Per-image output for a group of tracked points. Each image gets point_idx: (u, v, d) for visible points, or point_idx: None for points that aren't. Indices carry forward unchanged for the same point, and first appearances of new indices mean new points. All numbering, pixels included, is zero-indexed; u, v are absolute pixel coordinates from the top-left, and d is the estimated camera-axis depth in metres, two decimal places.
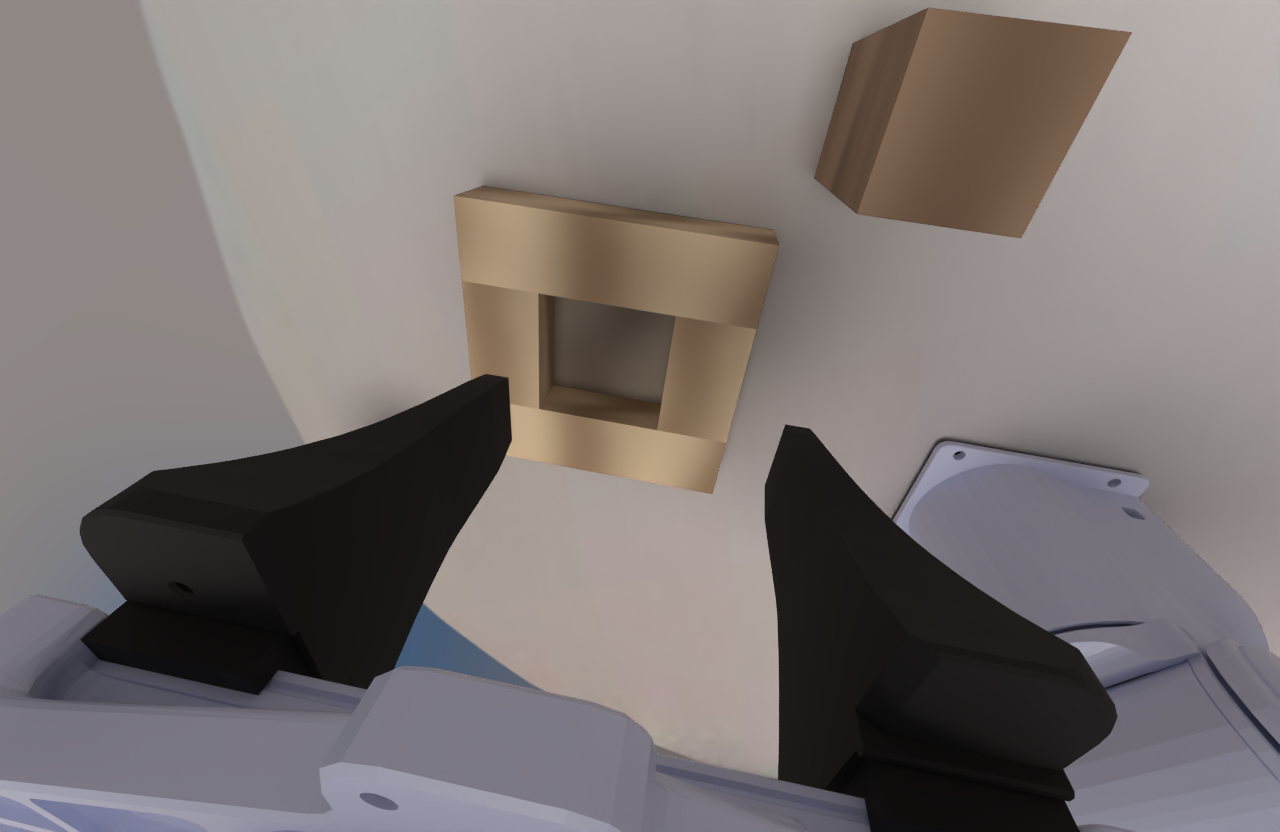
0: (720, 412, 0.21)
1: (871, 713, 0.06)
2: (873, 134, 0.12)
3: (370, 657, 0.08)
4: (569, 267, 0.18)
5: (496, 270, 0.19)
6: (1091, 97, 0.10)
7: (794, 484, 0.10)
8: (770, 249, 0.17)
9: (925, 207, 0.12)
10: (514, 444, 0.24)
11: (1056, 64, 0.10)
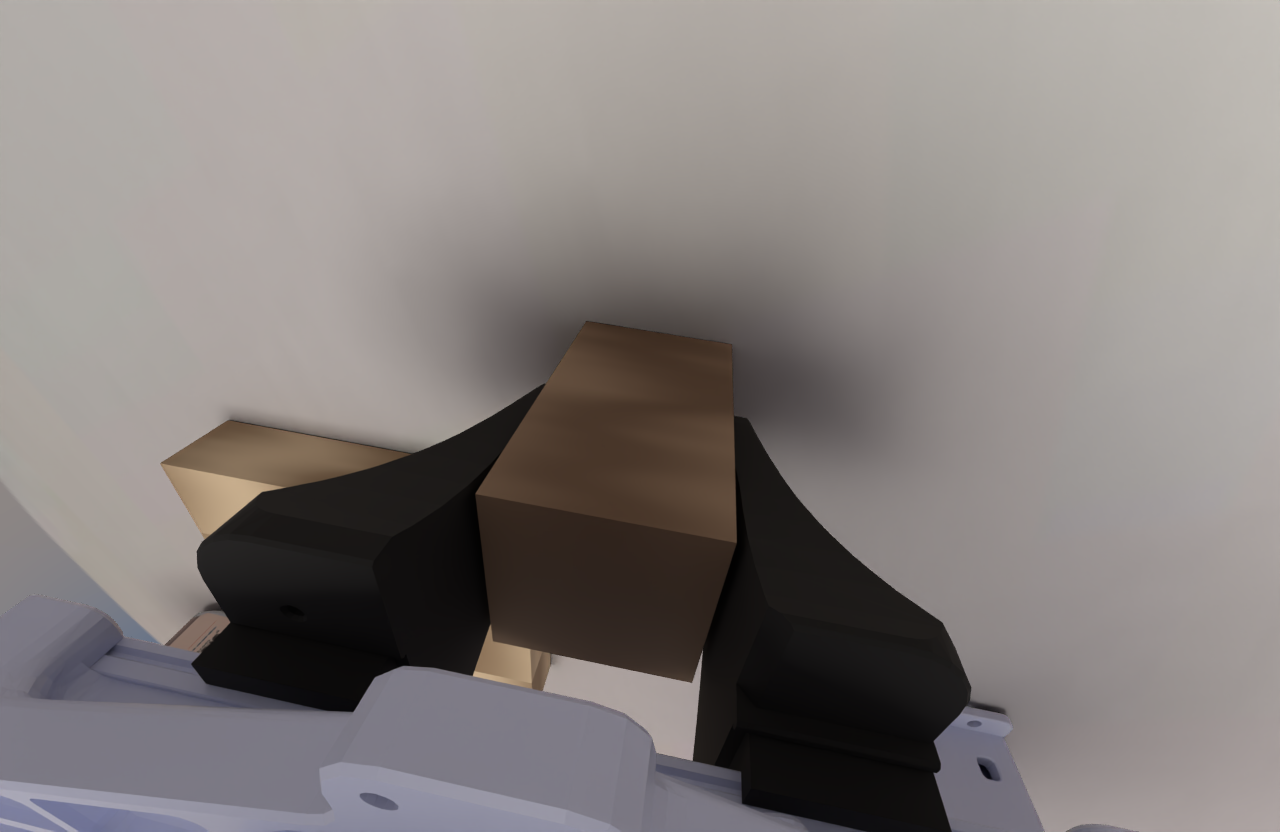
0: (516, 660, 0.18)
1: (748, 687, 0.06)
2: None
3: None
4: None
5: None
6: (715, 588, 0.08)
7: None
8: None
9: (568, 646, 0.09)
10: None
11: (658, 557, 0.07)
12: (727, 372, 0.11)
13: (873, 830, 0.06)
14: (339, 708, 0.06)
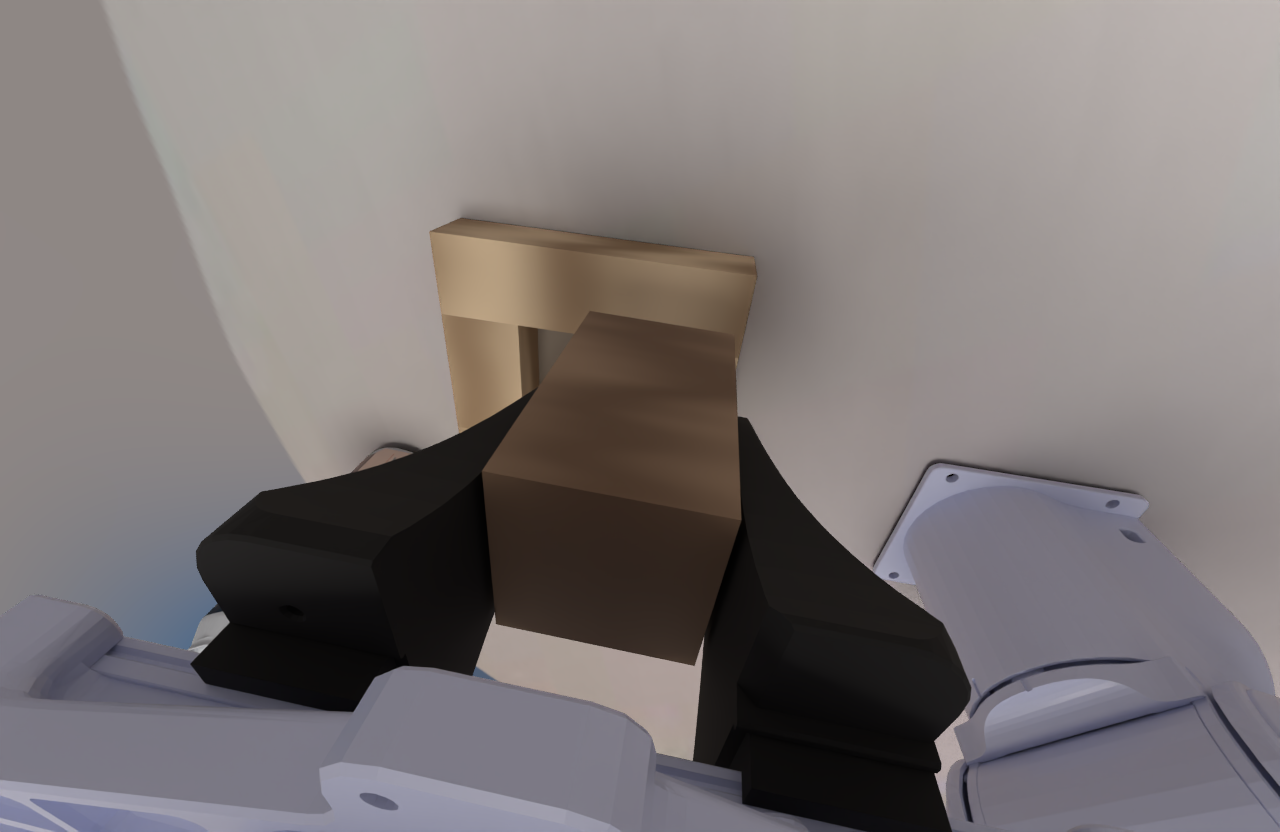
0: None
1: (748, 688, 0.06)
2: None
3: None
4: (547, 299, 0.18)
5: (475, 303, 0.19)
6: (719, 566, 0.08)
7: None
8: (748, 279, 0.17)
9: (571, 628, 0.09)
10: None
11: (662, 535, 0.08)
12: (730, 360, 0.12)
13: (873, 831, 0.06)
14: (338, 708, 0.06)
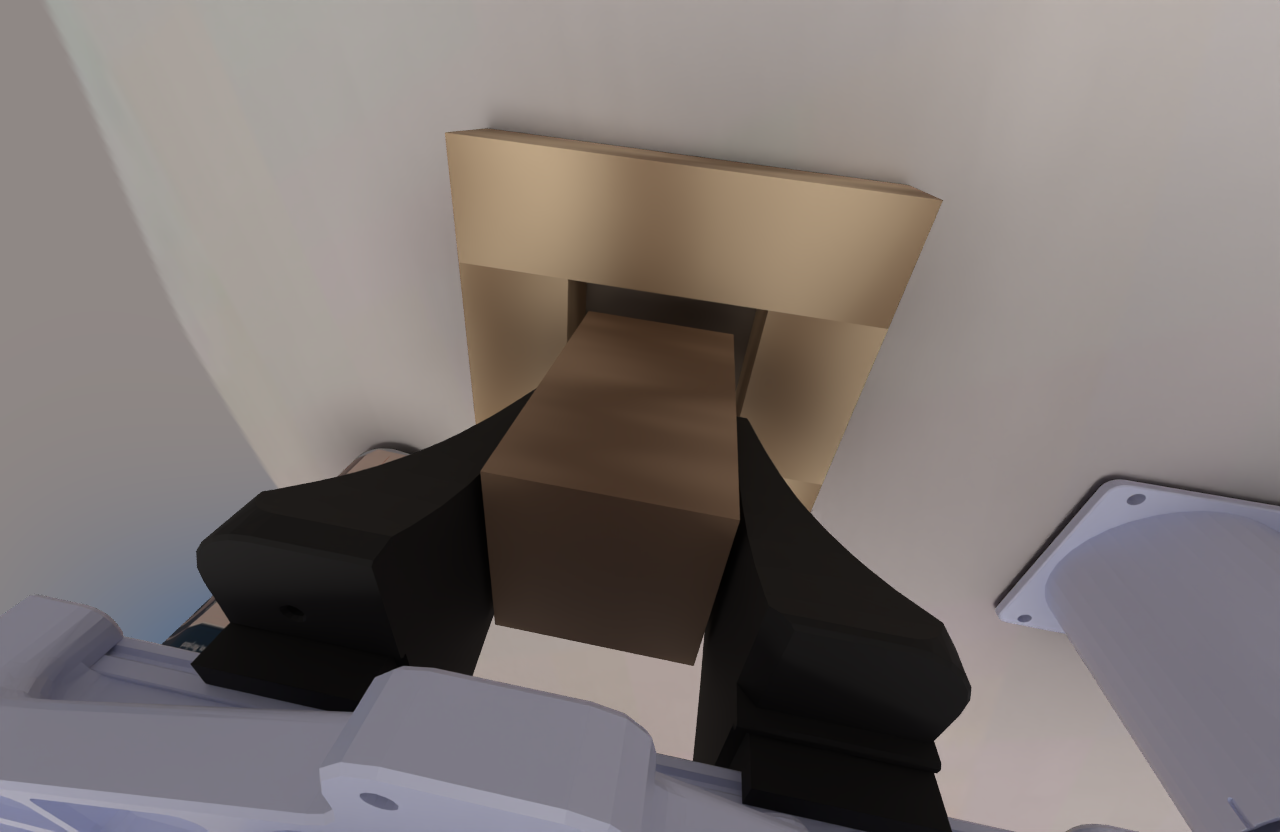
0: (818, 445, 0.15)
1: (748, 688, 0.06)
2: None
3: None
4: (614, 240, 0.13)
5: (508, 246, 0.13)
6: (717, 567, 0.08)
7: None
8: (928, 206, 0.11)
9: (570, 629, 0.09)
10: None
11: (661, 535, 0.07)
12: (729, 360, 0.12)
13: (873, 831, 0.06)
14: (338, 708, 0.06)
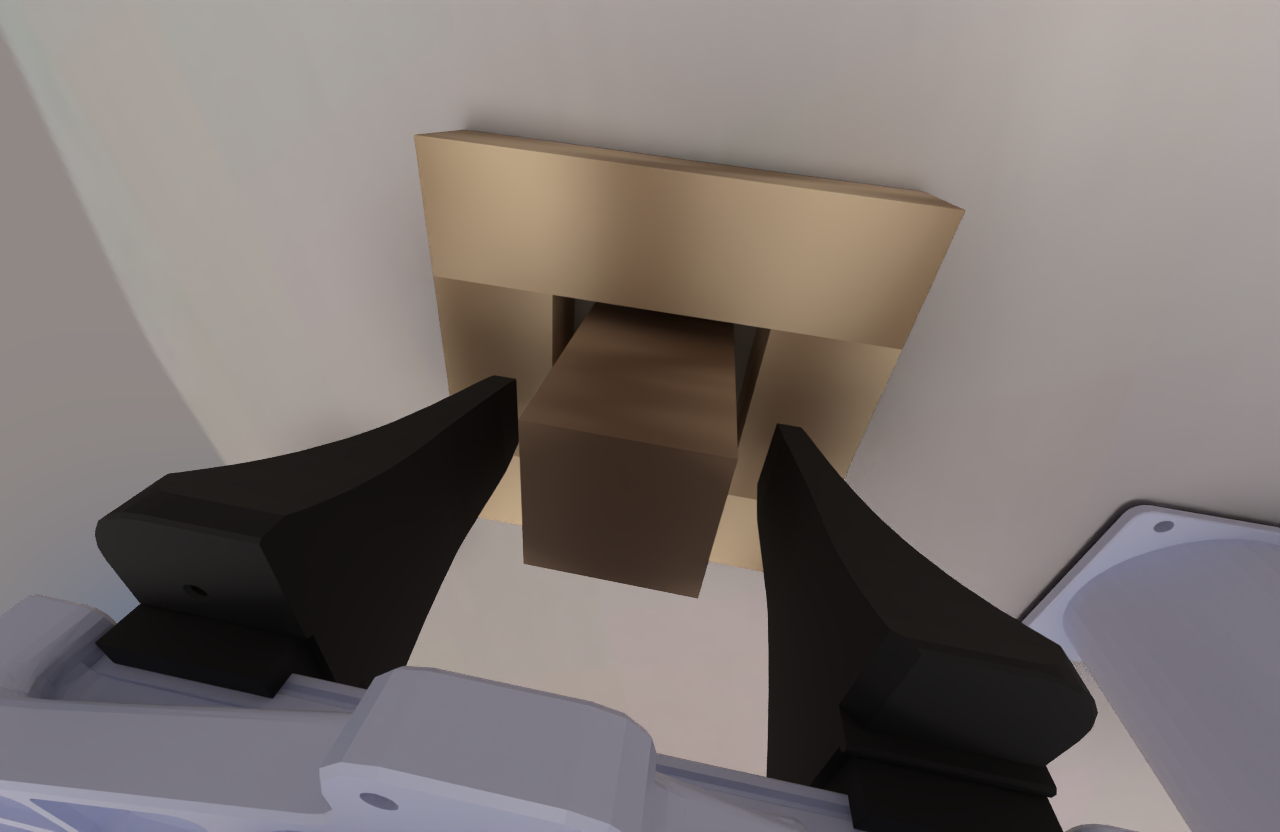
0: None
1: (854, 710, 0.06)
2: None
3: (381, 659, 0.08)
4: (602, 252, 0.12)
5: (486, 259, 0.12)
6: (719, 503, 0.09)
7: (784, 483, 0.10)
8: (948, 217, 0.10)
9: (590, 566, 0.11)
10: (516, 508, 0.17)
11: (671, 475, 0.09)
12: (729, 336, 0.13)
13: None
14: (242, 686, 0.06)
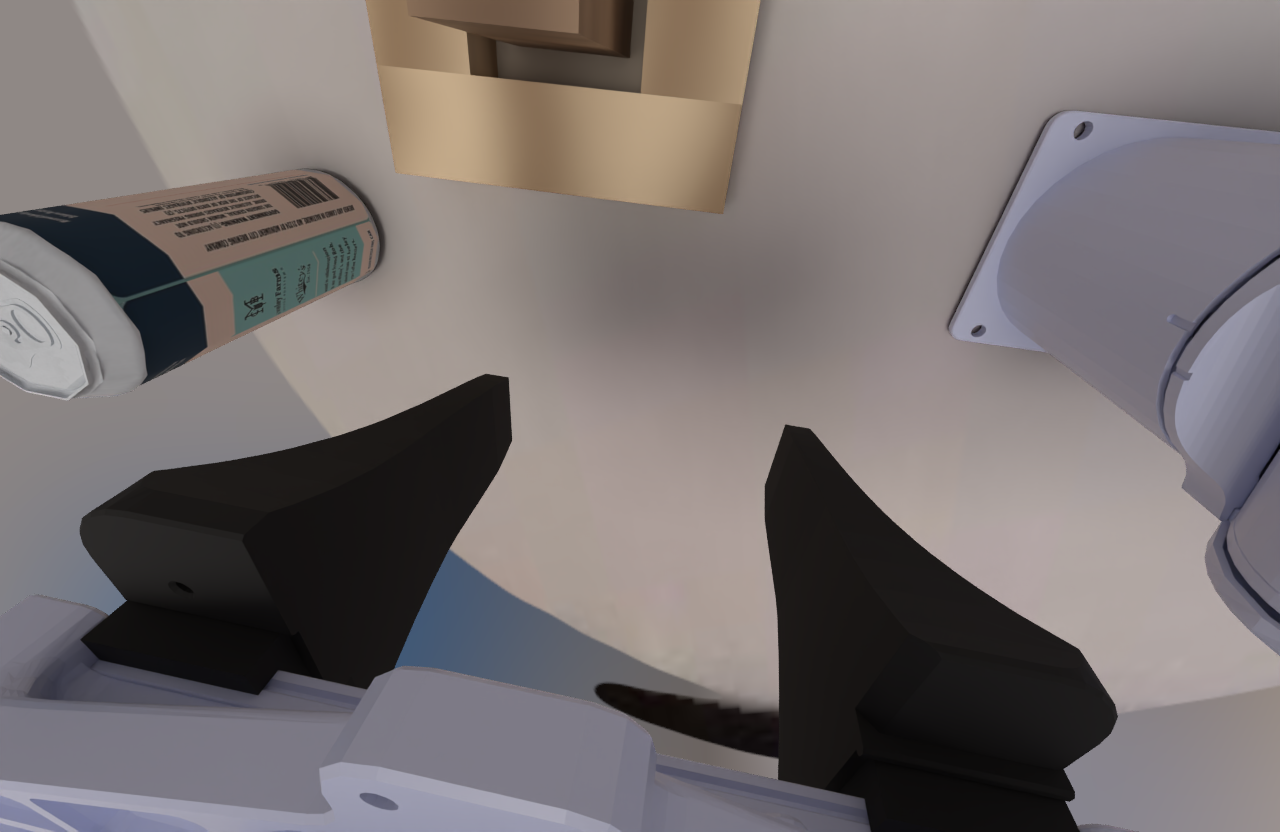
0: (732, 40, 0.14)
1: (871, 713, 0.06)
2: None
3: (370, 657, 0.08)
4: None
5: None
6: None
7: (794, 484, 0.10)
8: None
9: (471, 0, 0.11)
10: (442, 153, 0.17)
11: None
12: None
13: None
14: (227, 683, 0.06)
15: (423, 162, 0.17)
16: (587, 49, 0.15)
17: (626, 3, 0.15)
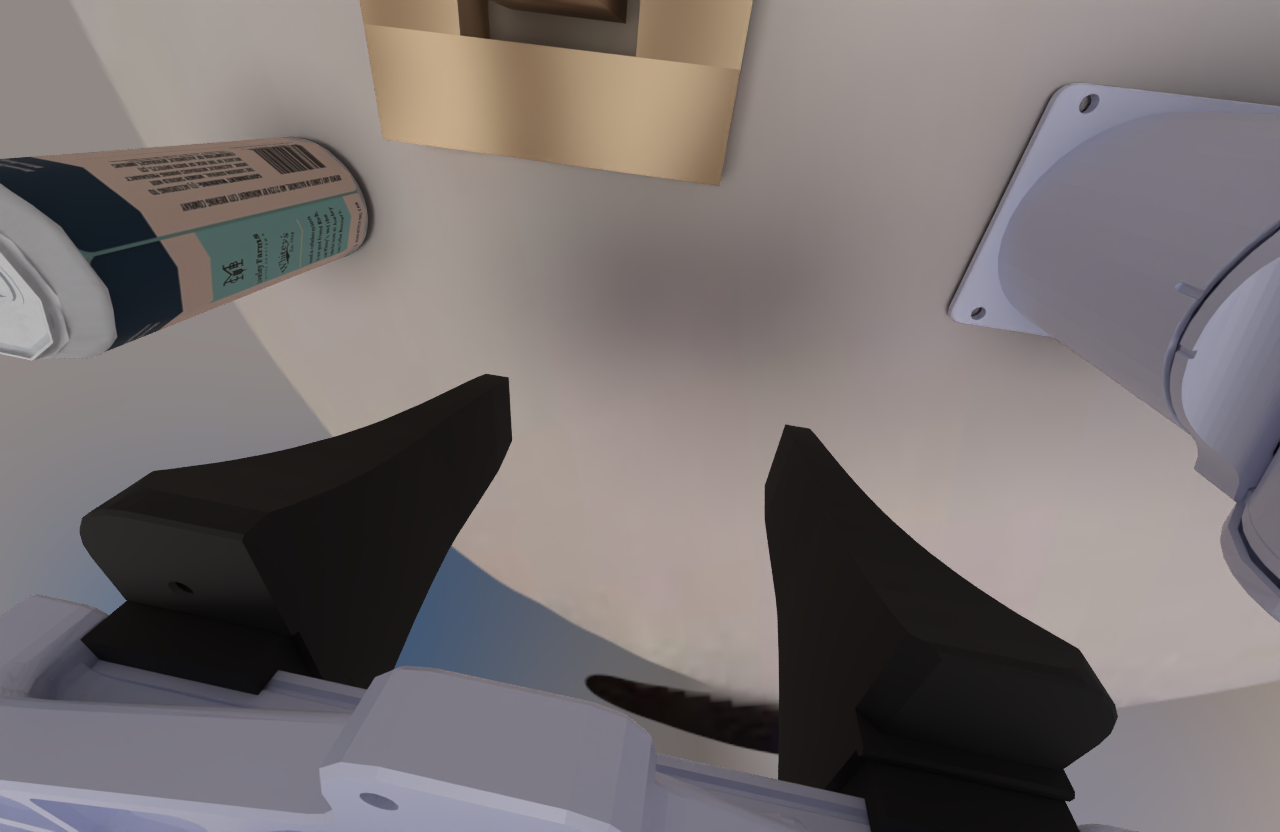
0: (731, 1, 0.14)
1: (871, 713, 0.06)
2: None
3: (370, 657, 0.08)
4: None
5: None
6: None
7: (794, 484, 0.10)
8: None
9: None
10: (431, 119, 0.16)
11: None
12: None
13: None
14: (227, 683, 0.06)
15: (411, 128, 0.17)
16: (581, 9, 0.14)
17: None
